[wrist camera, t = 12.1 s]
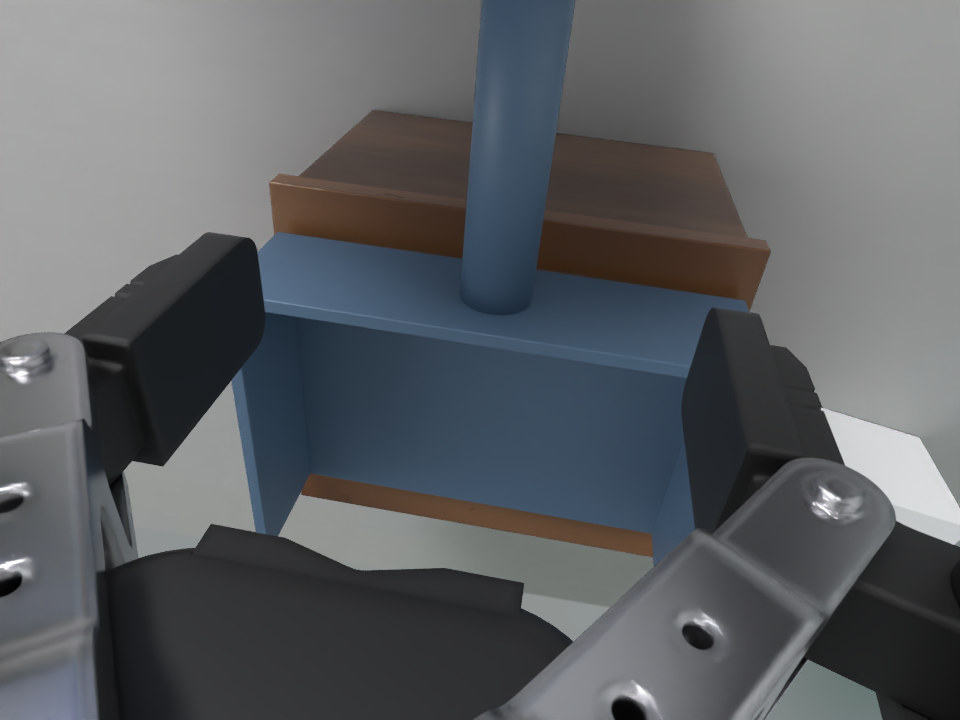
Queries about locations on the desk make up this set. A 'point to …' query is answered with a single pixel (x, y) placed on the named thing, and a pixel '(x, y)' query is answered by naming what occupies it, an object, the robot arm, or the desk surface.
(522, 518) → the storage box
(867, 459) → the white cube
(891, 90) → the desk surface
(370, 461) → the dustpan
